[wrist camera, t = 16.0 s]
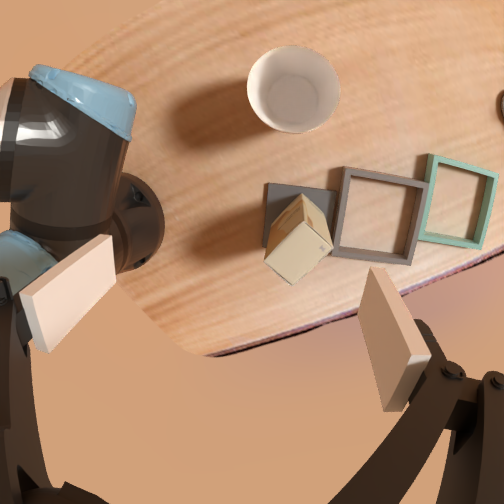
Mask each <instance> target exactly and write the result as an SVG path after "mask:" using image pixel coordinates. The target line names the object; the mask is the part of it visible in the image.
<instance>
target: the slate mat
mask: <svg viewBox="0 0 504 504" xmlns="http://www.w3.org/2000/svg"><path fill="white" fill-rule="evenodd" d="M301 193H302V194H304V195H305V196H306V197H307V198H308V199H309V200H311V201H312V202H313V203H314V204H315V205H316V206H317V207H318V208H319V209H320V210H321V211H322V212H323V213H324V216H325V219H326V223H327V226H328V230H329V233H330V230H331V224H332V218H333V212H334V206H335V199H336V191H332V190H324V189H317V188H309V187H302V186H293V185H285V184H276V183H269V185H268V195H267V206H266V216H265V226H264V236H263V246H262V247H264V248H267V243H268V239H269V234H270V229H271V224H272V223H273V222H274V221H275V220H276V219H277V217H278V216H279V215H280V214H281V213H282V212H283V211H284V210H285V209H286V208H287V207H288V206H289V205H290V204H291V203H292V202H293V201H294V200H295V199H296V198H297V197H298V196H299V195H300V194H301Z"/></svg>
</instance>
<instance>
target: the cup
mask: <svg viewBox="0 0 504 504" xmlns="http://www.w3.org/2000/svg"><path fill="white" fill-rule="evenodd" d="M247 94H248V98H249V102H250V104H251V106H252V108H253V110H254V111H255V113H256V114H257V116H258V117H259V118H260V119H261V120H262V121H263V122H264V123H265V124H266V125H268V126H269V127H271V128H273V129H275V130H277V131H280V132H283V133H288V134H301V133H306V132H310V131H313V130H315V129H317V128H318V127H320V126H322V125H323V124H324V123H325V122H326V121H327V120H328V119H329V118H330V117H331V116H332V115H333V113H334V112H335V110H336V108H337V106H338V103H339V99H340V82H339V78H338V75H337V73H336V71H335V69H334V67H333V66H332V64H331V63H330V62H329V61H328V60H327V59H326V58H325V57H324V56H322V55H321V54H320V53H318V52H316V51H314V50H312V49H310V48H307V47H303V46H297V45H288V46H281V47H277V48H275V49H272V50H270V51H268V52H267V53H265V54H264V55H263V56H261V57H260V58H259V59H258V60H257V61H256V63H255V64H254V65H253V67H252V69H251V71H250V73H249V77H248V81H247Z"/></svg>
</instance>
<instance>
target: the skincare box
mask: <svg viewBox="0 0 504 504" xmlns="http://www.w3.org/2000/svg"><path fill="white" fill-rule="evenodd" d="M332 250H333V244H332V240H331V237H330V233H329V230H328V226H327V223H326V219H325V216H324V213H323V212H322V211H321V210H320V209H319V208H318V207H317V206H316V205H315V204H314V203H313V202H312V201H311V200H309V199H308V198H307V197H306V196H305V195H304V194H302V193H301V194H300V195H299V196H298V197H297V198H296V199H295V200H294V201H293V202H292V203H291V204H290V205H289V206H288V207H287V208H286V209H285V210H284V211H283V212H282V213H281V214H280V215H279V216H278V217H277V219H276V220H275V221H274V222H273V223H272V224H271V229H270V234H269V239H268V243H267V248H266V253H265V257H264V263H265V264H266V265H268V266H269V267H270V268H271V269H272V270H273V271H274V272H275V273H276V274H277V275H279V276H280V277H281V278H282V279H283V280H284V281H285V282H286V283H288V284H289V285H290V286H294V285H295V284H296V283H297V282H299V281H300V280H301V279H302V278H303V277H304V276H305V275H306V274H307V273H308V272H310V271H311V270H312V269H313V268H314V267H315V266H316V265H317V264H318V263H319V262H320V261H321V260H322V259H323V258H324V257H325V256H326V255H327V254H328V253H329V252H330V251H332Z"/></svg>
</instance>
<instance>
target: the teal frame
mask: <svg viewBox="0 0 504 504" xmlns="http://www.w3.org/2000/svg"><path fill="white" fill-rule="evenodd" d="M438 162H441V163H445V164H449V165H452V166H456V167H460V168H463V169H467V170H470V171H474V172H477V173H480V174H484V175H487V181H486V187H485V192H484V197H483V201H482V206H481V210H480V214H479V219H478V223H477V227H476V230H475V234H474V238H473V240H471V239H465V238H460V237H454V236H449V235H443V234H437V233H431V232H425V227H426V223H427V219H428V214H429V210H430V205H431V200H432V195H433V190H434V185H435V179H436V173H437V167H438ZM498 177H499V174H498V173H495V172H492V171H489V170H486V169H483V168H479V167H476V166H473V165H470V164H466V163H463V162H459V161H456V160H452V159H448V158H445V157H441V156H437V155H433V154H429V153H428V160H427V166H426V172H425V178H424V181H425V182H427V183H429V189H428V195H427V200H426V205H425V209H424V214H423V219H422V223H421V227H420V231H419V236H418V240H423V241H430V242H436V243H442V244H448V245H454V246H460V247H466V248H472V249H478V250H481V249H482V246H483V242H484V238H485V235H486V231H487V227H488V223H489V219H490V215H491V211H492V207H493V202H494V198H495V193H496V188H497V183H498Z"/></svg>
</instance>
